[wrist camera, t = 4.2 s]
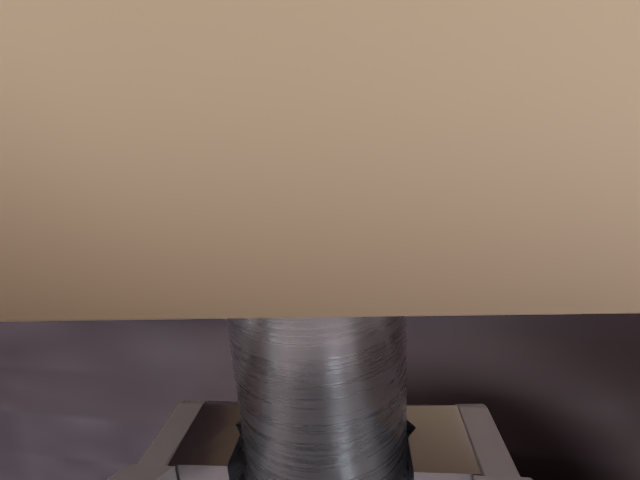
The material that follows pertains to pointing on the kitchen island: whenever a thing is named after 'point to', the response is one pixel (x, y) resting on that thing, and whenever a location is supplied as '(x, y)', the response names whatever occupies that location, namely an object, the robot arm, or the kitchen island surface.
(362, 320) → the shaft
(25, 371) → the kitchen island surface
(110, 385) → the kitchen island surface
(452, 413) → the robot arm
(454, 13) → the bracket
